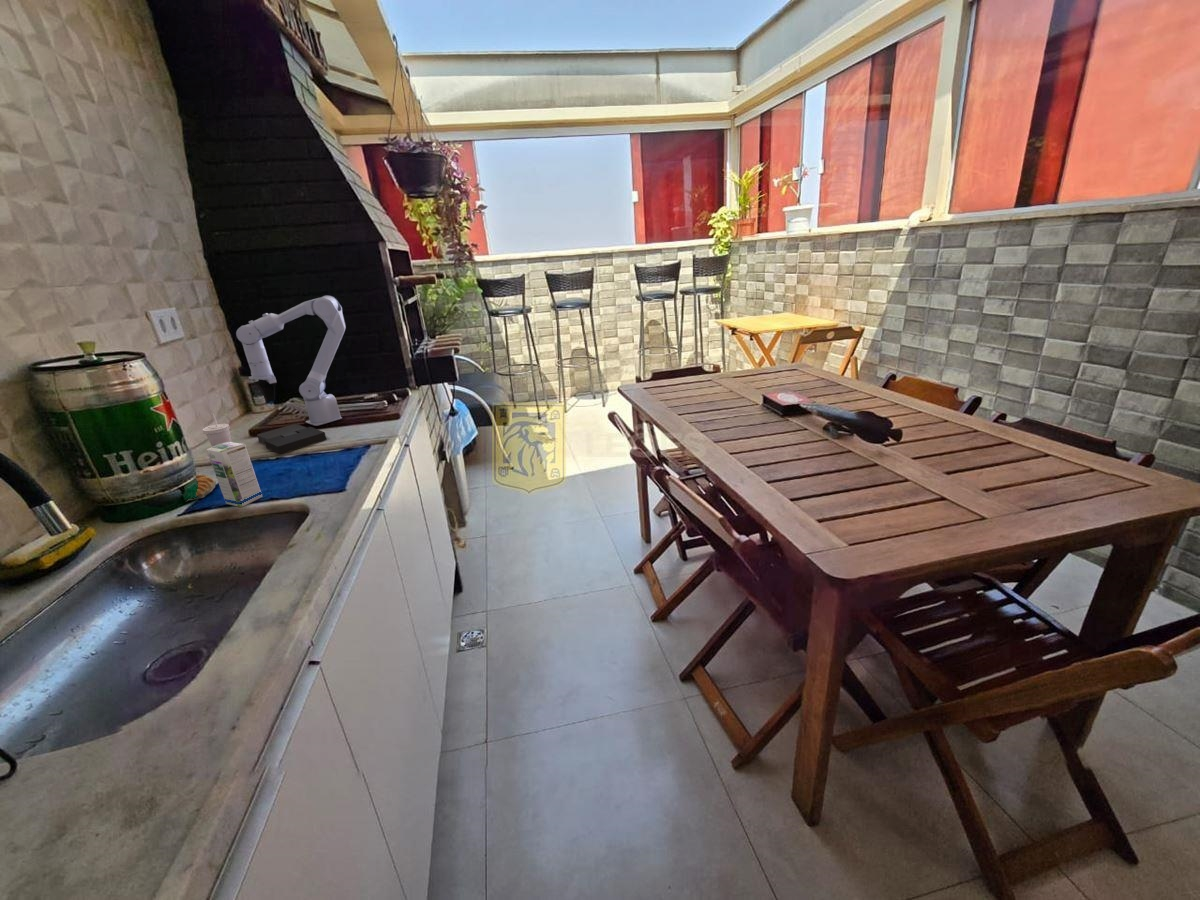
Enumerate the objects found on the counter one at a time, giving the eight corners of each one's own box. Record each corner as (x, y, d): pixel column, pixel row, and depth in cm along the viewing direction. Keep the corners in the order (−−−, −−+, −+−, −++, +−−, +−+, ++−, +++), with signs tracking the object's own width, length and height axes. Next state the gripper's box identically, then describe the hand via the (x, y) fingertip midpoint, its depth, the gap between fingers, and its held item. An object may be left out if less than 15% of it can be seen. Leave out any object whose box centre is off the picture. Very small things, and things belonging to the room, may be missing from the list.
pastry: (209, 499, 121) (204, 485, 119) (176, 506, 118) (170, 492, 117) (218, 484, 129) (213, 471, 127) (187, 490, 126) (181, 477, 125)
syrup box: (225, 504, 118) (203, 449, 112) (249, 493, 123) (229, 440, 117) (240, 508, 116) (219, 452, 110) (264, 496, 121) (245, 442, 115)
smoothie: (229, 461, 143) (212, 416, 137) (208, 462, 143) (190, 417, 138) (244, 452, 149) (229, 409, 143) (224, 453, 149) (207, 409, 144)
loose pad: (298, 430, 166) (295, 423, 165) (312, 436, 160) (310, 429, 159) (259, 441, 157) (256, 434, 156) (273, 448, 151) (270, 440, 150)
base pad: (312, 433, 162) (310, 426, 161) (326, 439, 157) (324, 432, 156) (266, 447, 152) (263, 440, 151) (280, 454, 146) (277, 446, 146)
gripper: (236, 362, 162) (249, 401, 168) (253, 366, 154) (267, 407, 160) (259, 357, 168) (271, 395, 173) (277, 362, 159) (289, 401, 165)
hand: (271, 401), depth 167 cm, fingers closed
